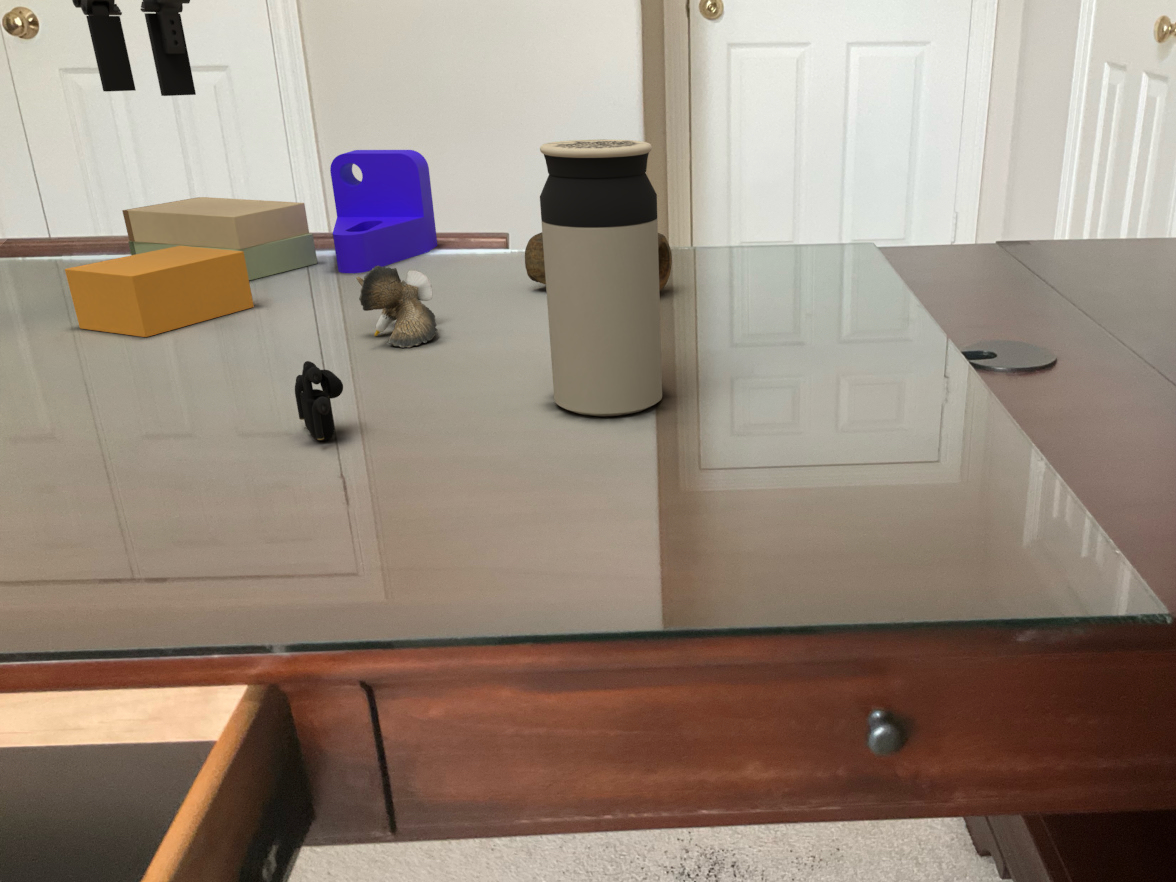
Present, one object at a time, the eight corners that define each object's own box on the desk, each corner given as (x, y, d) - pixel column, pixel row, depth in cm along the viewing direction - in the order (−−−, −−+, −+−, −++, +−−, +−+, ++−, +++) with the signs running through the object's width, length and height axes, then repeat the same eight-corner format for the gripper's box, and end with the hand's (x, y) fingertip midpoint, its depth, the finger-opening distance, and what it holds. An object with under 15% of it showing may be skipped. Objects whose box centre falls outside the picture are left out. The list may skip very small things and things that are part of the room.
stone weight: (677, 287, 116) (676, 223, 113) (658, 302, 110) (656, 234, 107) (546, 281, 119) (542, 218, 116) (521, 294, 113) (515, 229, 110)
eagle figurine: (337, 316, 100) (341, 320, 91) (371, 246, 99) (377, 243, 91) (414, 355, 103) (425, 361, 95) (447, 287, 102) (460, 288, 94)
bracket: (354, 245, 140) (340, 149, 135) (437, 245, 140) (426, 149, 135) (302, 273, 124) (284, 165, 119) (396, 273, 124) (382, 165, 119)
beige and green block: (132, 272, 125) (118, 209, 122) (216, 253, 135) (205, 195, 132) (240, 283, 119) (227, 217, 116) (319, 263, 129) (309, 202, 126)
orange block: (145, 337, 98) (131, 276, 95) (79, 328, 101) (64, 268, 98) (254, 307, 108) (243, 251, 106) (191, 299, 111) (179, 245, 109)
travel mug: (682, 406, 79) (677, 145, 71) (583, 425, 75) (566, 152, 67) (631, 379, 85) (621, 136, 77) (537, 396, 81) (517, 142, 74)
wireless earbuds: (297, 424, 76) (285, 354, 73) (334, 418, 77) (322, 348, 75) (322, 454, 70) (310, 379, 68) (361, 447, 71) (350, 373, 69)
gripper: (198, -194, 85) (249, 95, 94) (83, -158, 101) (136, 88, 110) (97, -208, 81) (161, 99, 89) (-7, -168, 96) (56, 90, 105)
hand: (148, 93), depth 100 cm, fingers open, 13 cm apart
